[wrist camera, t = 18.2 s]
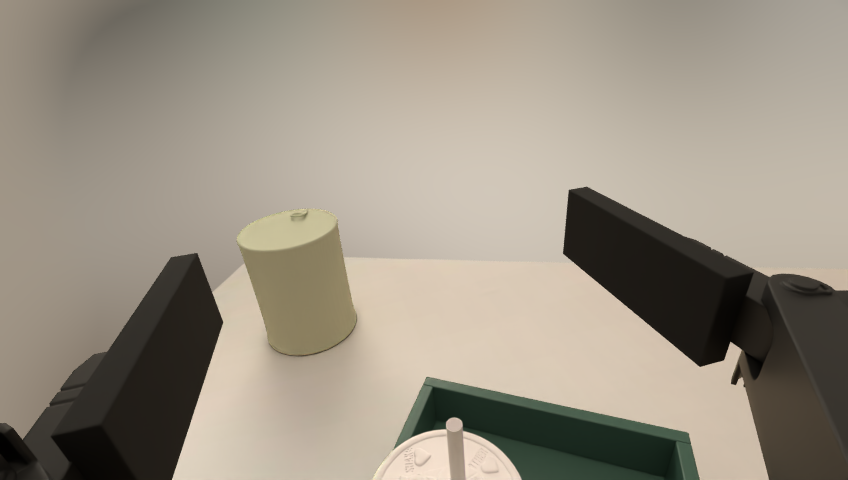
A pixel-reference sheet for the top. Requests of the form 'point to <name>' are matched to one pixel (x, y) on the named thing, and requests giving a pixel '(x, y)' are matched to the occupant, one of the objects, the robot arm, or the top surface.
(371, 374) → the top surface
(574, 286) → the top surface
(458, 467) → the smoothie
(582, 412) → the bin
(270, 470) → the top surface
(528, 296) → the top surface
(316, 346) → the can
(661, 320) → the robot arm
